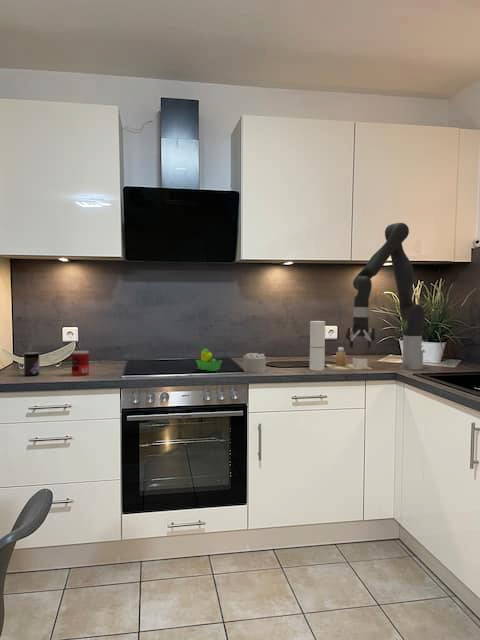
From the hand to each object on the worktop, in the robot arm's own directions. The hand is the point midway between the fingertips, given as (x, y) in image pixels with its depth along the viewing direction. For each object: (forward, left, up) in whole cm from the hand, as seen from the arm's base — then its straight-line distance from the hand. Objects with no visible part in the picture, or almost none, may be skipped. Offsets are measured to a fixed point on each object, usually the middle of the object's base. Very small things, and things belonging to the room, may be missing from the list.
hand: (359, 348), depth 243 cm
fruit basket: (+76, -4, -12) cm, 77 cm away
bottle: (+8, -6, -10) cm, 14 cm away
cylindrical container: (+23, +4, -11) cm, 26 cm away
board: (+5, -3, -11) cm, 13 cm away
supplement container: (+158, +4, -11) cm, 158 cm away
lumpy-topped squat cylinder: (+53, -2, -12) cm, 54 cm away
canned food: (+136, +4, -11) cm, 136 cm away
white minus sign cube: (0, 0, -10) cm, 10 cm away
